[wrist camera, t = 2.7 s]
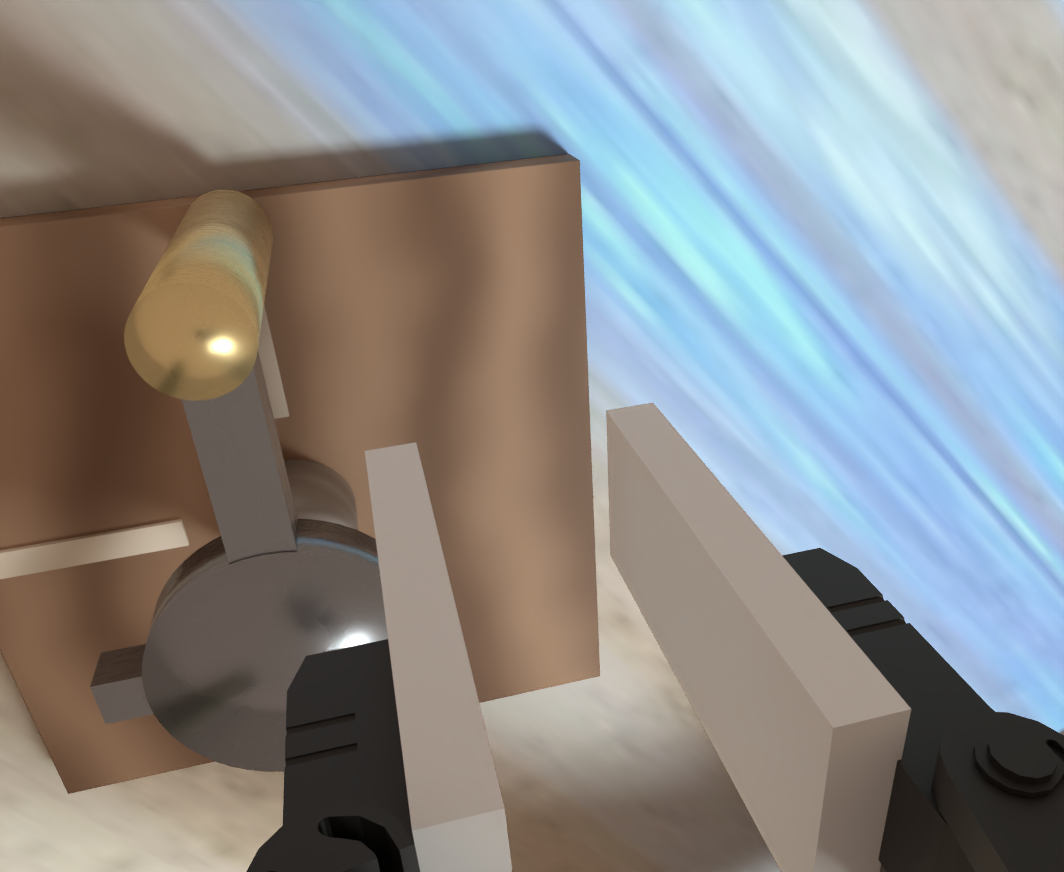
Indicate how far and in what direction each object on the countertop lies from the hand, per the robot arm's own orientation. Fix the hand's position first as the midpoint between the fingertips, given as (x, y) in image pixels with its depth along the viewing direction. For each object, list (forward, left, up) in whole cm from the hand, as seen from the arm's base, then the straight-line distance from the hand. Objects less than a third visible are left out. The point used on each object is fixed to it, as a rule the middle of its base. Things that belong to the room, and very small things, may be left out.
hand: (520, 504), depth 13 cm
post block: (+6, +12, -23) cm, 26 cm away
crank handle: (+7, +8, -21) cm, 23 cm away
